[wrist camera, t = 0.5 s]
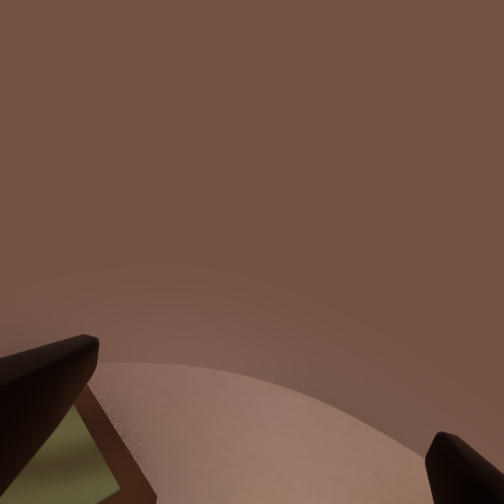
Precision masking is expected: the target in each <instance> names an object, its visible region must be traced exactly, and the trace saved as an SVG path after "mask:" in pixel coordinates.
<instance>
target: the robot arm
mask: <svg viewBox="0 0 504 504" xmlns="http://www.w3.org/2000/svg"><path fill="white" fill-rule="evenodd" d="M98 350H99V339H98V338H97V337H93V336H90V335H86V334H82V335H79V336H75V337H71V338H68V339H65V340H61V341H58V342H54V343H51V344H47V345H44V346H41V347H37V348H34V349H30V350H27V351H23V352H20V353H17V354H13V355H10V356H6V357H2V358H0V497H1V496H2V495H3V494H4V492H5V491H6V490H7V489H8V487H9V486H10V485H11V484H12V483H13V481H14V480H15V479H16V478H17V476H18V475H19V474H20V473H21V472H22V470H23V469H24V468H25V467H26V465H27V464H28V463H29V462H30V460H31V459H32V458H33V457H34V456H35V454H36V453H37V452H38V451H39V449H40V448H41V447H42V446H43V445H44V443H45V442H46V441H47V440H48V438H49V437H50V436H51V435H52V433H53V432H54V431H55V430H56V428H57V427H58V426H59V424H60V423H61V421H62V420H63V419H64V417H65V416H66V414H67V413H68V411H69V410H70V408H71V407H72V405H73V404H74V402H75V401H76V399H77V398H78V396H79V395H80V393H81V392H82V390H83V389H84V387H85V386H86V384H87V383H88V381H89V380H90V378H91V377H92V375H93V373H94V371H95V369H96V366H97V359H98ZM425 467H426V471H427V475H428V480H429V484H430V488H431V492H432V497H433V501H434V504H504V474H503V473H502V472H500V471H499V470H498V469H497V468H496V467H494V466H493V465H492V464H491V463H490V462H488V461H487V460H486V459H485V458H484V457H482V456H481V455H480V454H479V453H478V452H476V451H475V450H474V449H473V448H471V447H470V446H469V445H468V444H467V443H465V442H464V441H463V440H462V439H461V438H459V437H458V436H456V435H453V434H449V433H446V432H438V433H437V434H436V436H435V437H434V440H433V442H432V444H431V446H430V448H429V450H428V452H427V454H426V458H425Z"/></svg>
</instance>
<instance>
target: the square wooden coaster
mask: <svg viewBox="0 0 504 504" xmlns="http://www.w3.org/2000/svg"><path fill="white" fill-rule="evenodd" d="M156 500H157V495H156V494H155V492H154V490H153V489H152V487H151V486H150V484H149V482H148V481H147V479H146V478H145V476H144V474H143V473H142V471H141V470H140V468H139V466H138V465H137V463H136V462H135V460H134V458H133V457H132V455H131V454H130V452H129V450H128V449H127V447H126V446H125V444H124V442H123V441H122V439H121V438H120V436H119V435H118V433H117V431H116V430H115V428H114V427H113V425H112V423H111V422H110V420H109V419H108V417H107V415H106V414H105V412H104V411H103V409H102V407H101V406H100V404H99V403H98V401H97V399H96V398H95V396H94V395H93V393H92V391H91V390H90V388H89V387H88V385H87V384H86V386H85V387H84V389H83V390H82V392H81V393H80V395H79V396H78V398H77V399H76V401H75V402H74V404H73V405H72V407H71V408H70V410H69V411H68V413H67V414H66V416H65V417H64V419H63V420H62V421H61V423H60V424H59V426H58V427H57V428H56V430H55V431H54V432H53V433H52V435H51V436H50V437H49V438H48V440H47V441H46V442H45V443H44V445H43V446H42V447H41V448H40V449H39V451H38V452H37V453H36V454H35V456H34V457H33V458H32V459H31V460H30V462H29V463H28V464H27V465H26V467H25V468H24V469H23V470H22V472H21V473H20V474H19V475H18V476H17V478H16V479H15V480H14V481H13V483H12V484H11V485H10V486H9V487H8V489H7V490H6V491H5V492H4V494H3V495H2V496H1V497H0V504H156Z"/></svg>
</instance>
